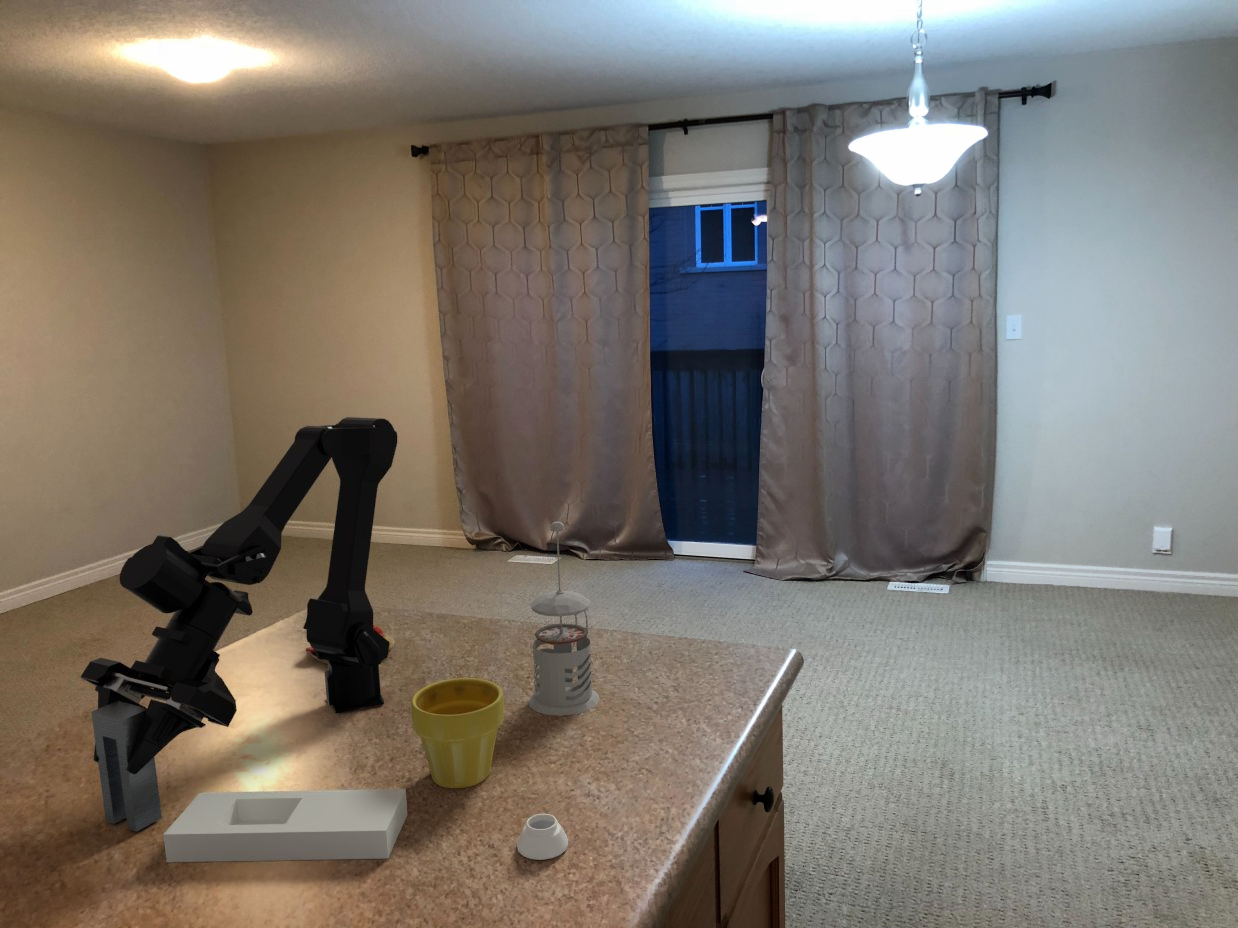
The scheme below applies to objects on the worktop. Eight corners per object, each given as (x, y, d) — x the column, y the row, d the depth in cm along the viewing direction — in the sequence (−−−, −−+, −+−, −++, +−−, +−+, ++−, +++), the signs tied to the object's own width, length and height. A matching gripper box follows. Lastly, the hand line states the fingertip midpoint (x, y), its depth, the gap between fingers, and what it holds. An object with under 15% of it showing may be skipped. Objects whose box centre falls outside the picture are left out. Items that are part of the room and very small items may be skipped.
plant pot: (509, 792, 105) (504, 709, 103) (414, 802, 103) (408, 718, 101) (504, 749, 115) (500, 673, 113) (418, 758, 113) (412, 681, 111)
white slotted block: (202, 818, 101) (200, 792, 100) (407, 814, 101) (405, 788, 100) (166, 862, 93) (163, 834, 93) (388, 858, 93) (386, 830, 92)
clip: (131, 806, 103) (117, 700, 101) (161, 817, 101) (148, 708, 99) (105, 820, 100) (91, 711, 98) (136, 831, 98) (122, 720, 96)
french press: (515, 709, 126) (506, 527, 122) (553, 677, 137) (546, 508, 132) (582, 719, 122) (575, 532, 118) (615, 685, 133) (610, 512, 129)
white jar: (520, 866, 91) (571, 859, 92) (519, 838, 91) (570, 831, 92) (515, 838, 96) (563, 831, 97) (513, 811, 95) (562, 805, 96)
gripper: (296, 675, 108) (226, 811, 100) (186, 651, 116) (114, 774, 108) (233, 631, 99) (152, 776, 92) (119, 609, 108) (36, 739, 100)
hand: (114, 767), depth 98 cm, fingers closed on clip, 5 cm apart
